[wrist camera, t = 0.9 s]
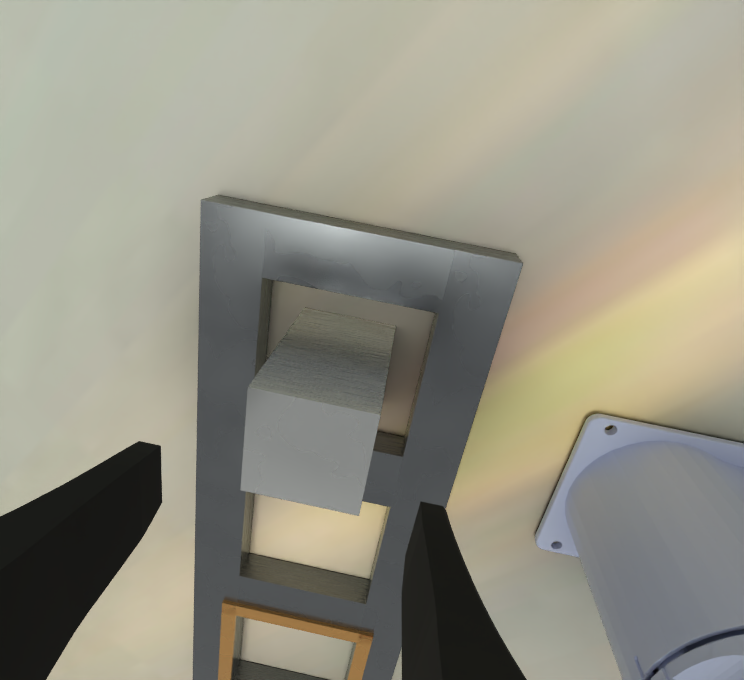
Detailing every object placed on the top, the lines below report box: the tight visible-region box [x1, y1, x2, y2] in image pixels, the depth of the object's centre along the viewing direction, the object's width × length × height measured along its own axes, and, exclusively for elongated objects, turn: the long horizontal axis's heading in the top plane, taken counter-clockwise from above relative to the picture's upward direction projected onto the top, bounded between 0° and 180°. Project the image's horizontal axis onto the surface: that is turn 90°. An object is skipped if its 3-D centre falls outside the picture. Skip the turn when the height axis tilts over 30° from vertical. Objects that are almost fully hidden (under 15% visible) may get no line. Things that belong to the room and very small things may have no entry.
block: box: [241, 307, 396, 516], centre depth 18 cm, size 4×4×7 cm
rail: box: [193, 195, 523, 680], centre depth 24 cm, size 12×32×2 cm, turn 170°
